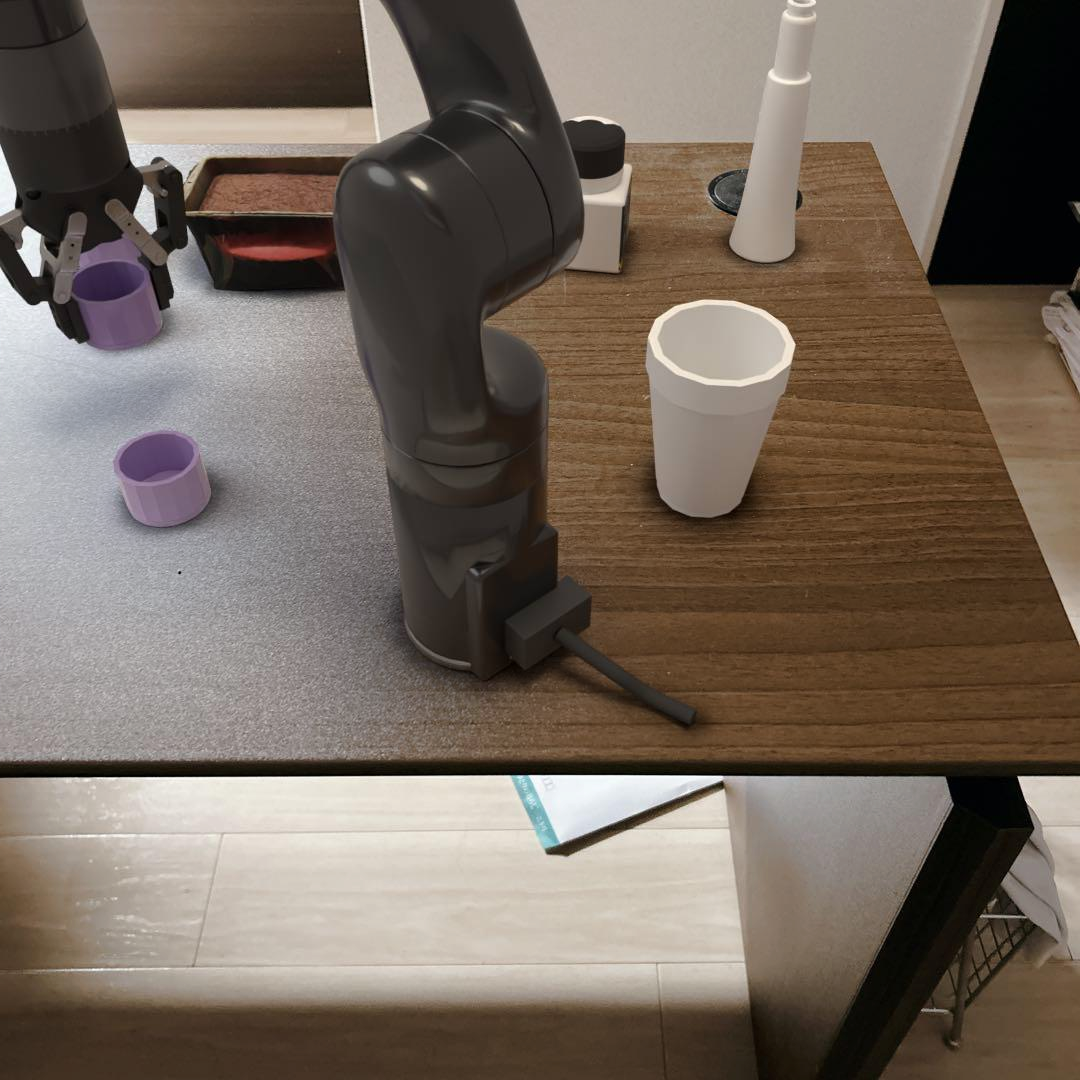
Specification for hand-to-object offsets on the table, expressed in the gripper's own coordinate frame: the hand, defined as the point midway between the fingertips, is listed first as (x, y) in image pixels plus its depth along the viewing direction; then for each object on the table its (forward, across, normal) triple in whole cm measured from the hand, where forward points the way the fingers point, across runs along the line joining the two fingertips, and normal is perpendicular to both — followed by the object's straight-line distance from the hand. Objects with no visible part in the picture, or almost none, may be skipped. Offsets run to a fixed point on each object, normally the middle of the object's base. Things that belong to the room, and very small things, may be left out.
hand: (120, 320), depth 83 cm
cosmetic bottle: (+8, +54, -16) cm, 57 cm away
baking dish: (+8, +20, +11) cm, 25 cm away
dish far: (+8, +7, +21) cm, 24 cm away
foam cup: (+8, +26, -35) cm, 44 cm away
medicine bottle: (+8, +41, -6) cm, 42 cm away
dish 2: (+8, -4, -11) cm, 14 cm away
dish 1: (+1, 0, 0) cm, 1 cm away
